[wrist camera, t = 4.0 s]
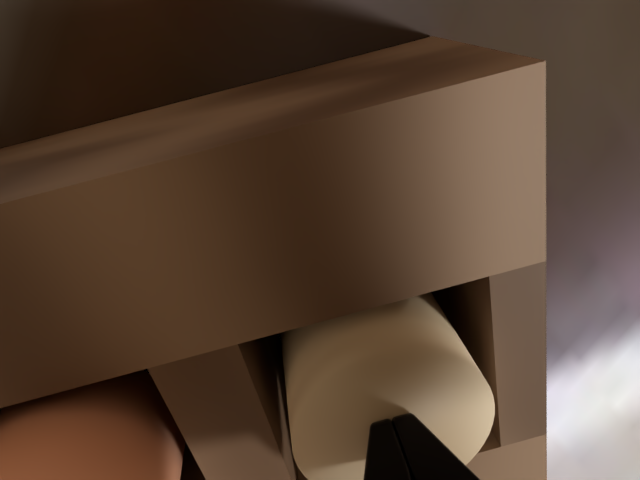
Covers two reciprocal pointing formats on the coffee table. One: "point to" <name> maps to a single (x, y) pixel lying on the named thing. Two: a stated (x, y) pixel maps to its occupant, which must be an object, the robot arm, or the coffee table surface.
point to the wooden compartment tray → (285, 243)
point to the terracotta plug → (93, 434)
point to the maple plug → (380, 385)
